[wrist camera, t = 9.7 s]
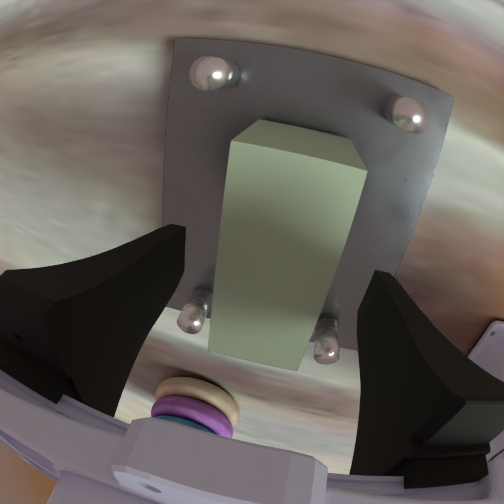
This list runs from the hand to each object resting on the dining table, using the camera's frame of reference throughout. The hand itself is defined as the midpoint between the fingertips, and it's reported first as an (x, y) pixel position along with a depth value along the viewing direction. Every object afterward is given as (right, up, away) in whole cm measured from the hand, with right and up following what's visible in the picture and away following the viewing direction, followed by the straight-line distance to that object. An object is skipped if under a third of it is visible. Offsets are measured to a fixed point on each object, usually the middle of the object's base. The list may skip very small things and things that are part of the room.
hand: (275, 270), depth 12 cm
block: (+1, +2, +3) cm, 4 cm away
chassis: (+1, +3, +5) cm, 6 cm away
